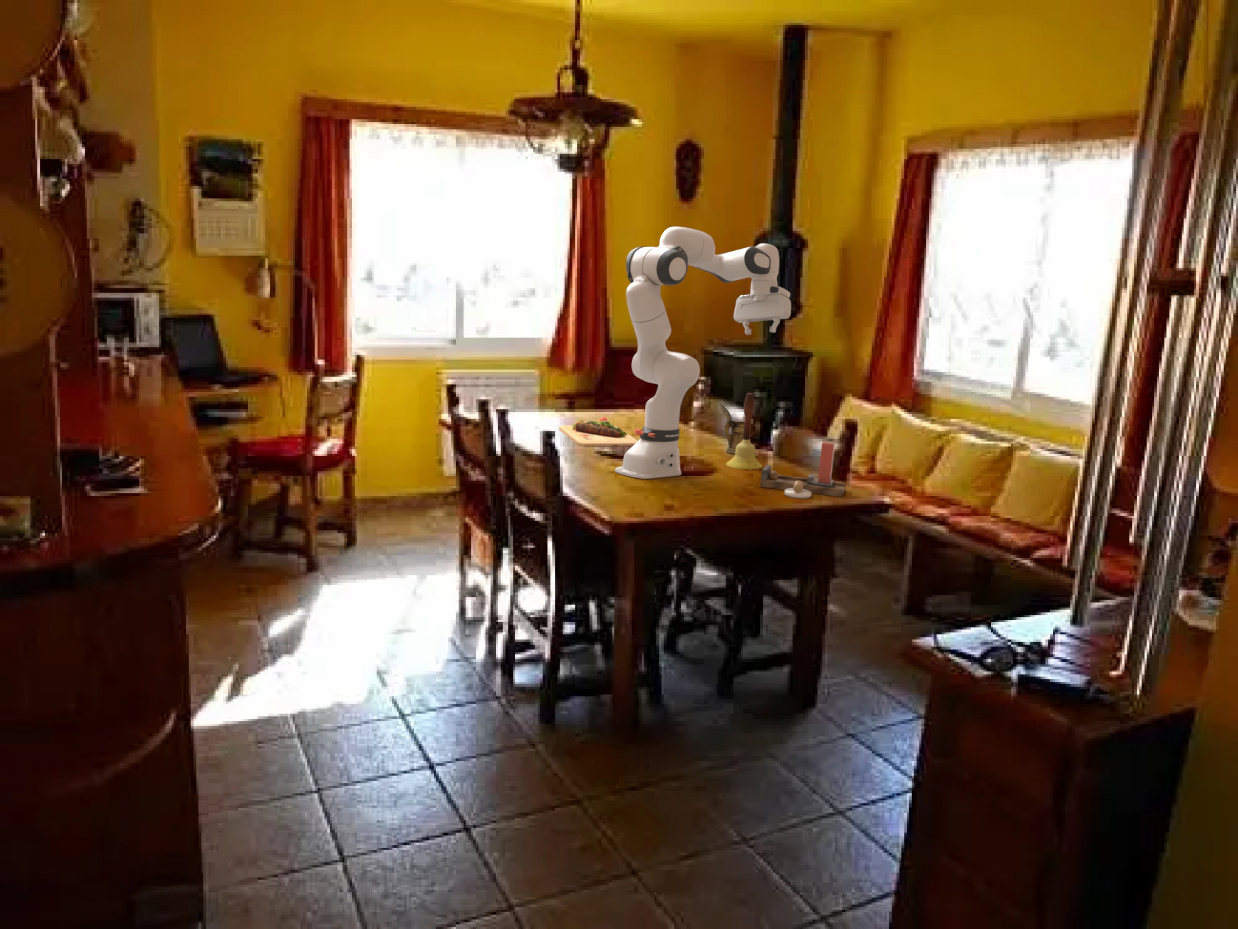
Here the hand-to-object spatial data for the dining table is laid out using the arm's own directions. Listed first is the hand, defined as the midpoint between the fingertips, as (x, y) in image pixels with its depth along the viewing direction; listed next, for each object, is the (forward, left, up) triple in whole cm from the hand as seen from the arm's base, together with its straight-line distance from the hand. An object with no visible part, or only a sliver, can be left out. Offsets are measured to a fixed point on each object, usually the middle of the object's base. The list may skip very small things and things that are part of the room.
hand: (760, 333), depth 323 cm
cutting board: (-12, +63, -46) cm, 79 cm away
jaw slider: (-11, -36, -43) cm, 58 cm away
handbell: (-3, -1, -45) cm, 45 cm away
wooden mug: (+11, +15, -45) cm, 49 cm away
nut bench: (-13, -32, -45) cm, 57 cm away
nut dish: (-22, -36, -45) cm, 62 cm away
